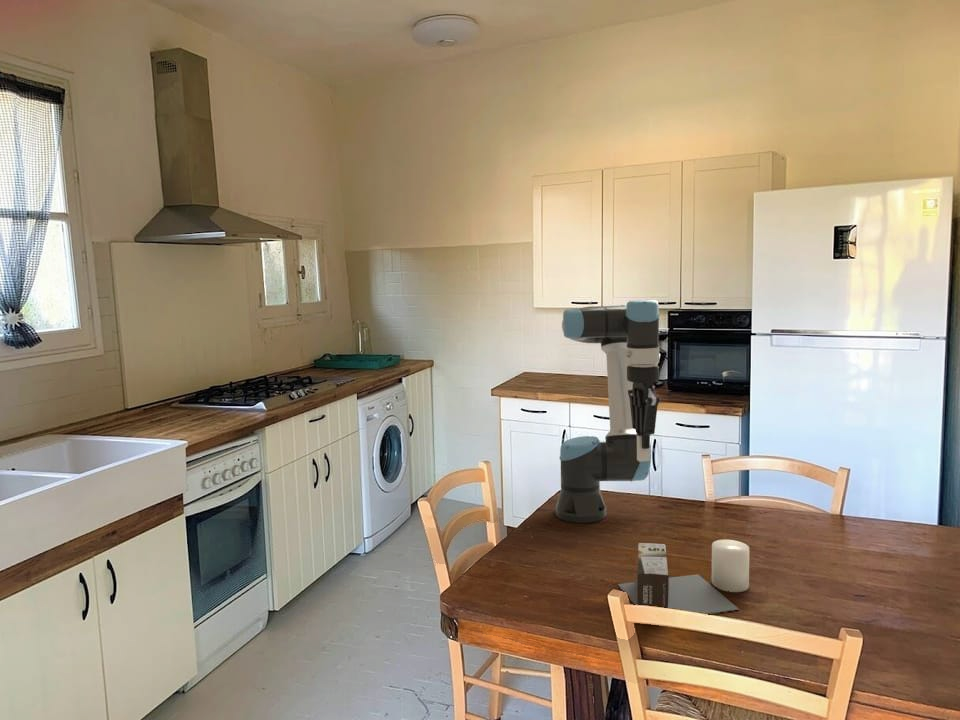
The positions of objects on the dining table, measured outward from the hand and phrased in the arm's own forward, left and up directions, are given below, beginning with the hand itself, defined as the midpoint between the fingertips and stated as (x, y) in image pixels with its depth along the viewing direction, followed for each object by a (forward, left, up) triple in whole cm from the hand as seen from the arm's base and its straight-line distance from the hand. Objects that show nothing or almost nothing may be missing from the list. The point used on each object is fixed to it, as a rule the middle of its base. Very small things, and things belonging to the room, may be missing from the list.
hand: (643, 460), depth 159 cm
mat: (+18, -1, -26) cm, 32 cm away
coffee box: (+9, -2, -22) cm, 24 cm away
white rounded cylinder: (+15, +14, -26) cm, 34 cm away
